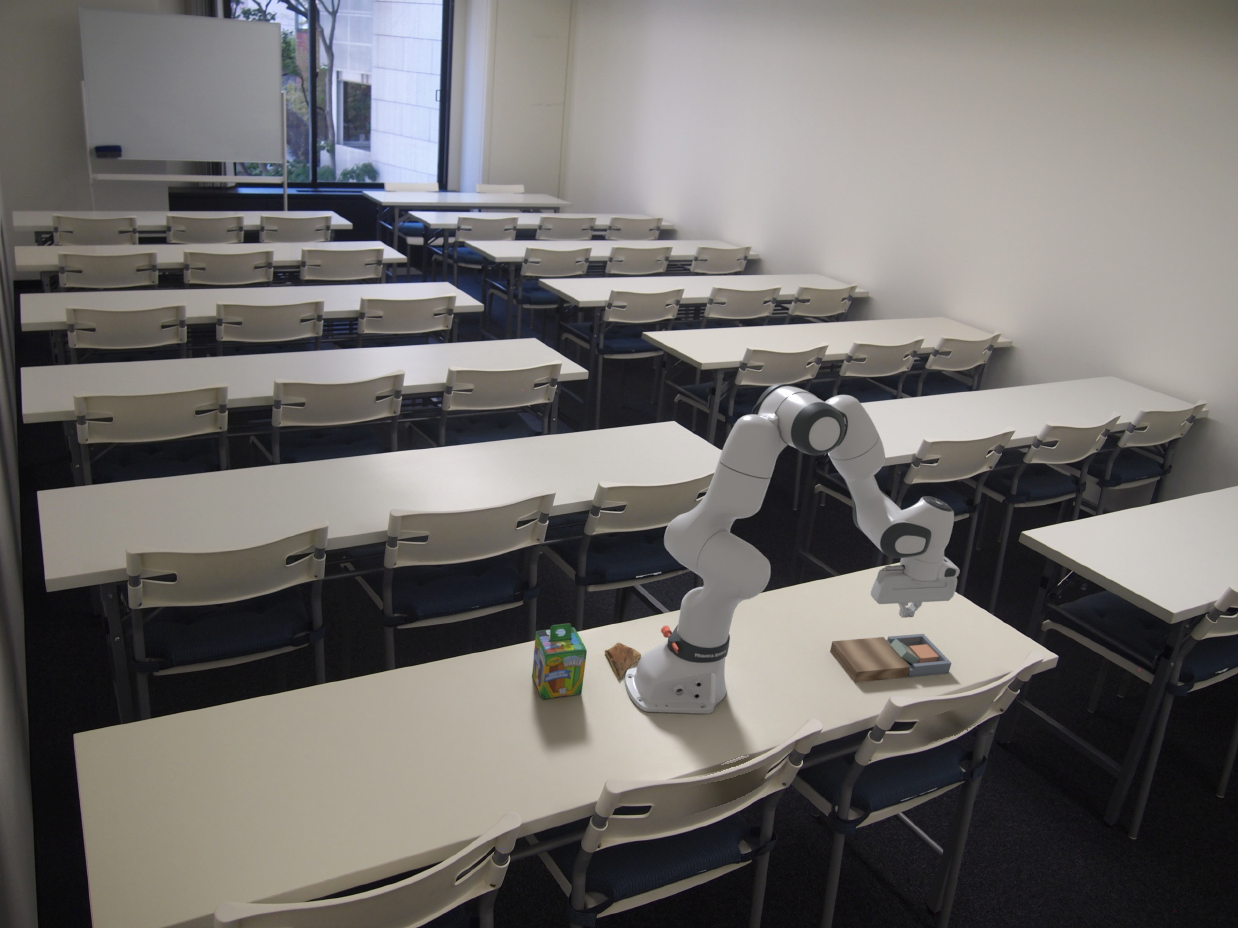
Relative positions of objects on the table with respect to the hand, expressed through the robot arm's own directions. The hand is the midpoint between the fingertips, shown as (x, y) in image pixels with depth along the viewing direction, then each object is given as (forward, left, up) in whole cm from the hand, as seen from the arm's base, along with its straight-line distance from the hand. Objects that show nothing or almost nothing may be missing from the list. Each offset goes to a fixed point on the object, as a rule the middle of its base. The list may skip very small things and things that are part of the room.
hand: (905, 616), depth 214 cm
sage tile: (+2, 0, -12) cm, 12 cm away
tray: (+6, 0, -13) cm, 15 cm away
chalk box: (-82, +3, -14) cm, 83 cm away
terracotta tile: (+8, 0, -11) cm, 14 cm away
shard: (-64, +9, -14) cm, 66 cm away
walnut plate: (-7, 0, -13) cm, 15 cm away
